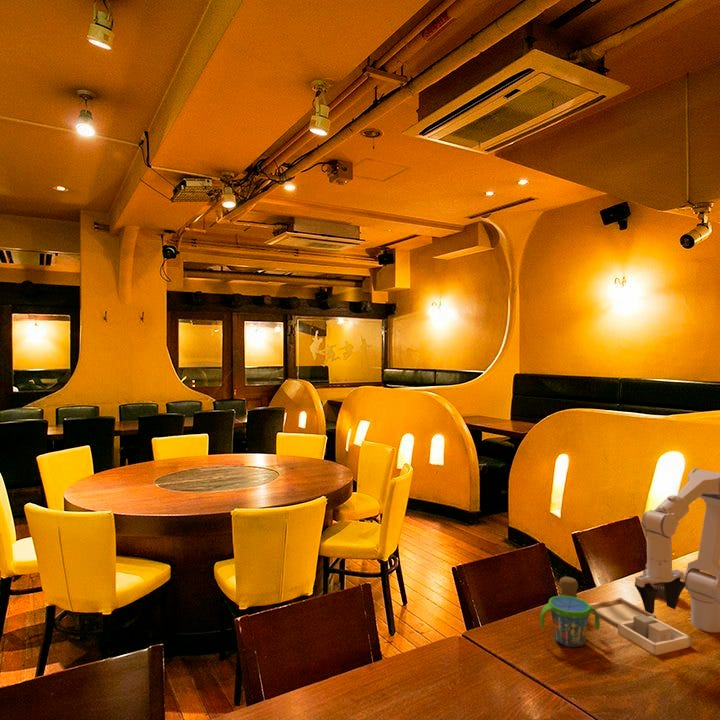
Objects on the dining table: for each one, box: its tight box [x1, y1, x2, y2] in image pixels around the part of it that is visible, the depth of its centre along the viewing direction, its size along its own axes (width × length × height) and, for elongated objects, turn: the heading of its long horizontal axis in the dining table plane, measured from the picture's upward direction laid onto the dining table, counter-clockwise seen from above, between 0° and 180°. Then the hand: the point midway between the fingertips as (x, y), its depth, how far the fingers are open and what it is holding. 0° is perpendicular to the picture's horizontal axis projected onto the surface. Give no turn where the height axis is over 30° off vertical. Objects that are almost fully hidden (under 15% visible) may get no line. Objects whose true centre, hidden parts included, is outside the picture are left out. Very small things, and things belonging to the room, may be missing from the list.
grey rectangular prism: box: [633, 614, 655, 639], centre depth 144 cm, size 4×4×4 cm
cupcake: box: [642, 563, 666, 602], centre depth 170 cm, size 10×10×10 cm
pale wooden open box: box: [617, 616, 692, 656], centre depth 141 cm, size 12×12×4 cm
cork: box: [558, 576, 579, 598], centre depth 157 cm, size 6×6×11 cm
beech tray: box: [588, 597, 657, 629], centre depth 156 cm, size 14×13×2 cm
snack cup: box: [539, 595, 601, 648], centre depth 143 cm, size 16×10×10 cm
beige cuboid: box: [648, 622, 672, 643], centre depth 139 cm, size 4×4×4 cm
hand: (660, 609), depth 139 cm, fingers open, 7 cm apart
